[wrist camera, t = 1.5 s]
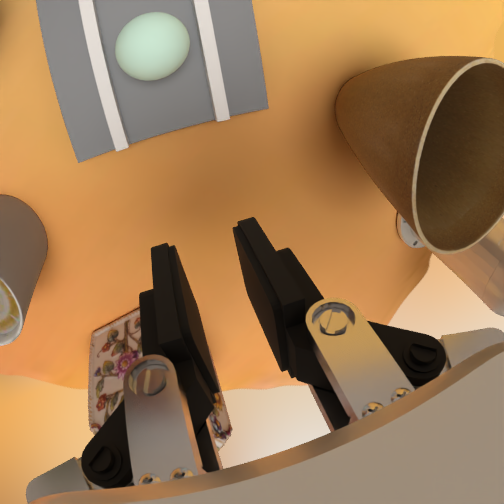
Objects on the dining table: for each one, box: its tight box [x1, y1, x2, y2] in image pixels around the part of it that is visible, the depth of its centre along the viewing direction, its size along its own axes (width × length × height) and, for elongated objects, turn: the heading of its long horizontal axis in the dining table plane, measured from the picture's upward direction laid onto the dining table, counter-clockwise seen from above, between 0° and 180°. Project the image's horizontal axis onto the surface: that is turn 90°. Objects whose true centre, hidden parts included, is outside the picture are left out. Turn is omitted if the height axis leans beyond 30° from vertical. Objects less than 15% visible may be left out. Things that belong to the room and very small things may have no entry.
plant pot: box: [335, 56, 504, 254], centre depth 23 cm, size 15×15×16 cm
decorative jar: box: [88, 308, 232, 451], centre depth 31 cm, size 12×12×18 cm
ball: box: [115, 12, 190, 81], centre depth 17 cm, size 5×5×5 cm
